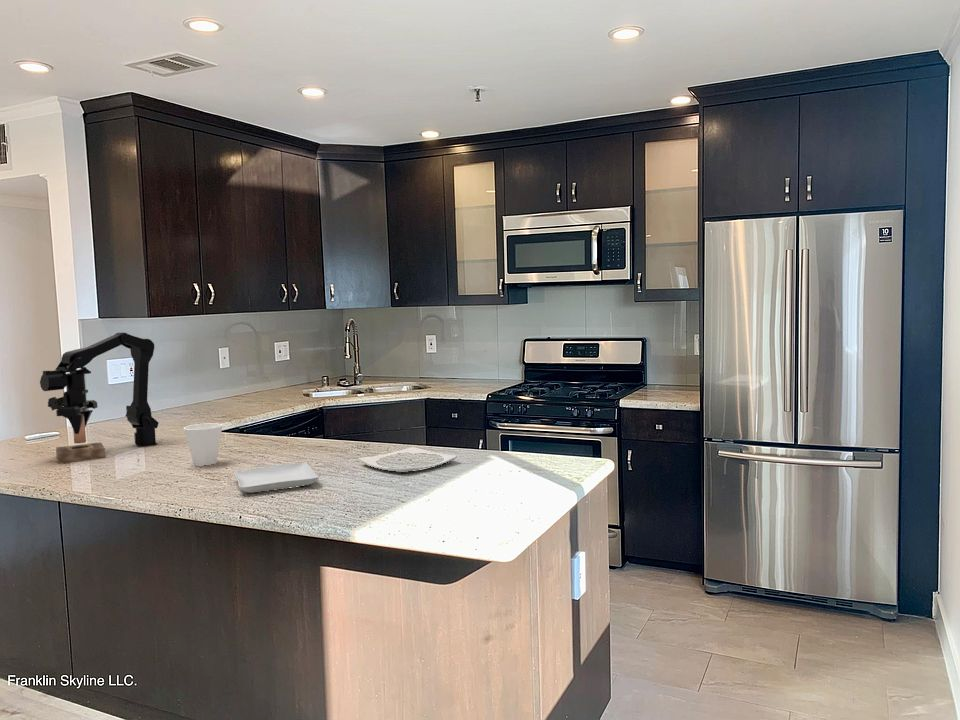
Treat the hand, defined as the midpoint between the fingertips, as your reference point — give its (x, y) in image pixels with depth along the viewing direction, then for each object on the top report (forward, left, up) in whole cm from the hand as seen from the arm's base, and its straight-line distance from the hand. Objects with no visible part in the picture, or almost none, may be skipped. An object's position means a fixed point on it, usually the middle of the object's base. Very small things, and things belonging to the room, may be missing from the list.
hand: (79, 432), depth 245 cm
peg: (0, 0, -3) cm, 3 cm away
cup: (-33, +40, -9) cm, 53 cm away
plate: (-85, +82, -9) cm, 118 cm away
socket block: (0, 0, -8) cm, 9 cm away
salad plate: (-44, +80, -9) cm, 92 cm away
